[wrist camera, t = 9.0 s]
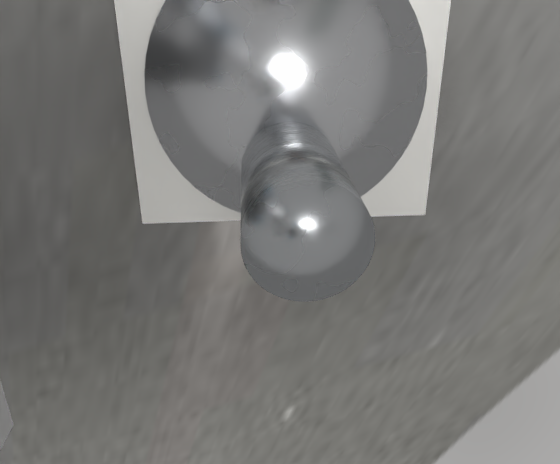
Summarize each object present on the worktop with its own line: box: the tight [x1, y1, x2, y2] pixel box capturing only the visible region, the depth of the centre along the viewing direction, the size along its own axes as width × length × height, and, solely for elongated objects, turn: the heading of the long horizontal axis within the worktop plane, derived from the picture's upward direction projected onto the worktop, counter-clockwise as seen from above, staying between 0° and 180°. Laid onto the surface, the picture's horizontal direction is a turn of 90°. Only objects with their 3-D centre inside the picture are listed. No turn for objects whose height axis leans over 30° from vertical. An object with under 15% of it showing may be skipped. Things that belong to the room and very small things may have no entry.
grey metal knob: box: [241, 121, 375, 301], centre depth 19 cm, size 4×4×7 cm
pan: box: [144, 0, 428, 213], centre depth 21 cm, size 11×11×1 cm
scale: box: [114, 0, 451, 224], centre depth 20 cm, size 13×16×7 cm
